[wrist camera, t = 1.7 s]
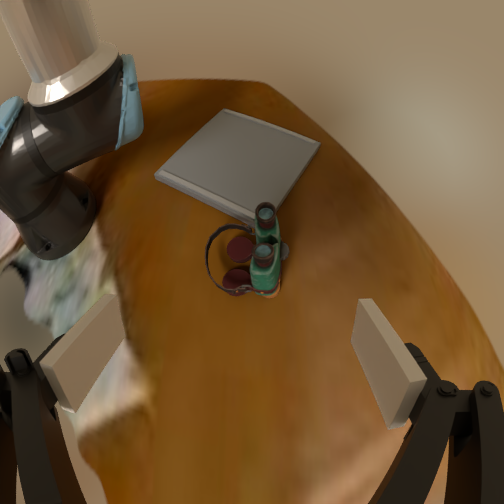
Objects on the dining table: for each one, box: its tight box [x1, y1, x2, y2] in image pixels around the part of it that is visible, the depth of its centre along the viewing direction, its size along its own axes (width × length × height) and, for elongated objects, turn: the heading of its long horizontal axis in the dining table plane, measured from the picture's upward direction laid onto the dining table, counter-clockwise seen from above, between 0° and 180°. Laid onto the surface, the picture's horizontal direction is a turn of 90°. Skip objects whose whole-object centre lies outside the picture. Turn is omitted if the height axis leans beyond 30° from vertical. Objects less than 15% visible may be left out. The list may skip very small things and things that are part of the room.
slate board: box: [154, 108, 321, 226], centre depth 45 cm, size 20×20×2 cm
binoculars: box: [205, 202, 289, 298], centre depth 33 cm, size 9×11×10 cm
